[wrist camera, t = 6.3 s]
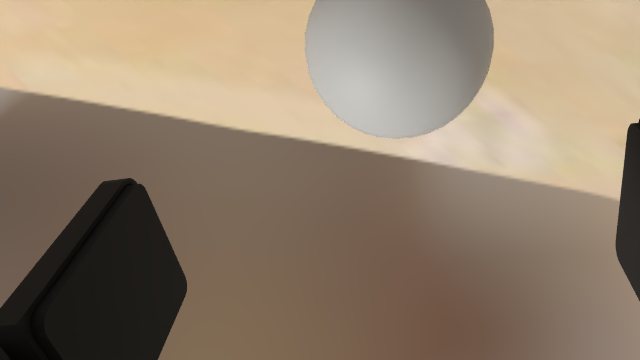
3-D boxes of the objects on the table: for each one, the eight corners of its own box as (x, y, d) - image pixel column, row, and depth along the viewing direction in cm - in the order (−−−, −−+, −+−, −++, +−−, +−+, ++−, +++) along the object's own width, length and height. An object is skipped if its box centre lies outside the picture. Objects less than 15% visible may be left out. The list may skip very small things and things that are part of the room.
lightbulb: (326, -85, 23) (279, -24, 14) (473, -94, 22) (522, -34, 13) (334, 51, 27) (300, 173, 17) (462, 48, 26) (496, 174, 17)
